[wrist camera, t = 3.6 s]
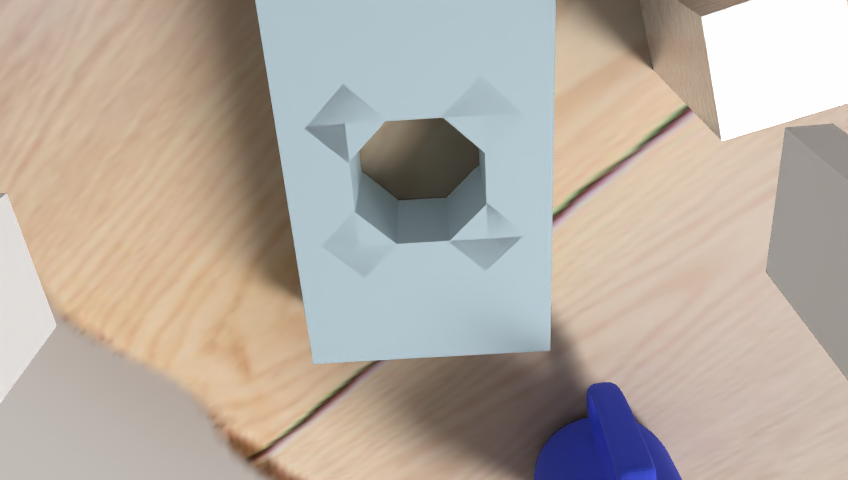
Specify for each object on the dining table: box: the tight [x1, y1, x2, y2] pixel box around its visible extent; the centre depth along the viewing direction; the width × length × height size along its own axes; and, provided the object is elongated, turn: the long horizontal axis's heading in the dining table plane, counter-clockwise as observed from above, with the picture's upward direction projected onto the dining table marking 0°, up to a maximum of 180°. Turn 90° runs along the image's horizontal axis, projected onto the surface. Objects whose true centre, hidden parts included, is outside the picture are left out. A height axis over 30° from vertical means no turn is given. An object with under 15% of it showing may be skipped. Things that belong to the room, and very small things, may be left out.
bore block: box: [255, 0, 556, 364], centre depth 31 cm, size 16×10×4 cm, turn 4°
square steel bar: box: [639, 0, 848, 141], centre depth 27 cm, size 4×4×8 cm
